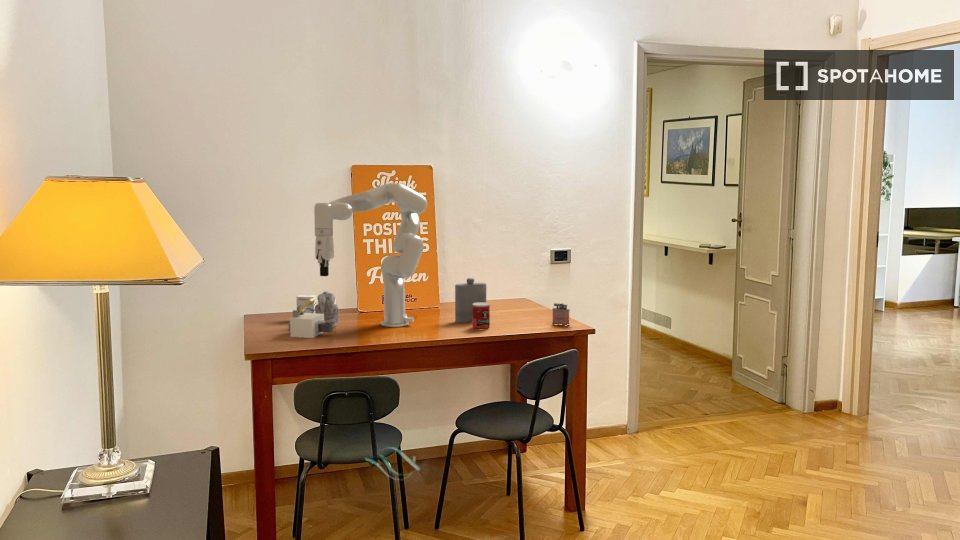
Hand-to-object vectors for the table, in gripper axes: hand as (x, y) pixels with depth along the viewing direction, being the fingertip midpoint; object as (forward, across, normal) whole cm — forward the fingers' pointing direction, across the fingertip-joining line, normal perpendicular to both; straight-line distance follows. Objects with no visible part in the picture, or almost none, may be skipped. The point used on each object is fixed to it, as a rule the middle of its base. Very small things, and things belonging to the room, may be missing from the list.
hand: (324, 275), depth 314 cm
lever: (+14, +1, +9) cm, 17 cm away
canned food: (+25, +26, -63) cm, 72 cm away
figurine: (+26, +19, +6) cm, 33 cm away
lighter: (+24, +39, -97) cm, 108 cm away
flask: (+25, +41, -55) cm, 73 cm away
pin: (+25, +1, +7) cm, 26 cm away
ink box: (+26, +29, +20) cm, 43 cm away
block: (+26, +1, +8) cm, 27 cm away
